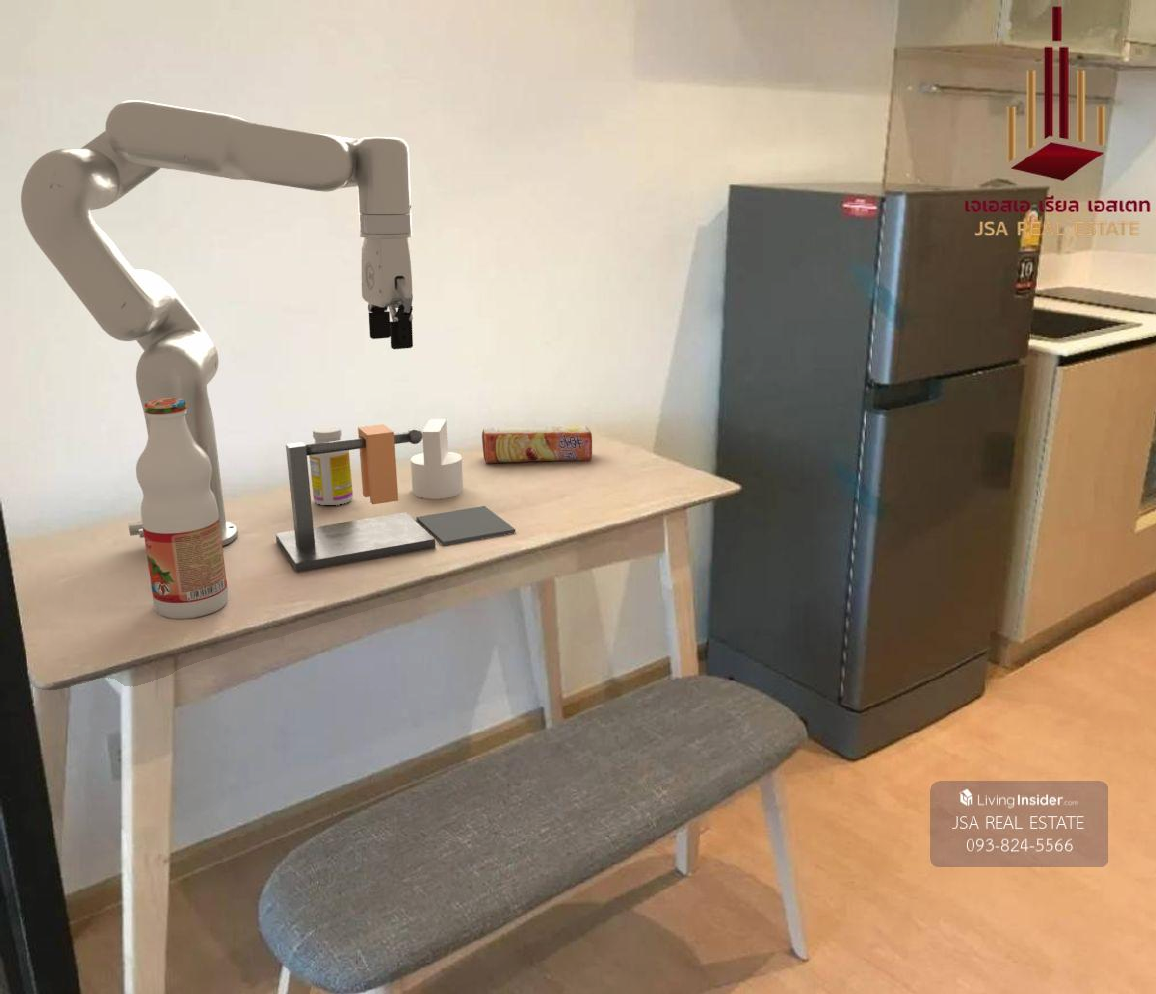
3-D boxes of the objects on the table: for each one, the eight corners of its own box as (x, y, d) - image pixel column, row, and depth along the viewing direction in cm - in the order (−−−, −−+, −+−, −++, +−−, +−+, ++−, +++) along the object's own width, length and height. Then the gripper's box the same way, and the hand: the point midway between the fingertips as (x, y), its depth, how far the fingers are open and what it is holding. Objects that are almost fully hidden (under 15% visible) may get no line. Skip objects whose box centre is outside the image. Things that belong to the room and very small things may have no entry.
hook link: (372, 504, 160) (367, 435, 156) (363, 494, 164) (357, 427, 161) (398, 500, 162) (393, 431, 158) (388, 491, 166) (383, 424, 163)
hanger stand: (296, 572, 153) (285, 458, 147) (276, 542, 165) (265, 435, 159) (442, 546, 162) (436, 438, 157) (413, 519, 174) (407, 417, 169)
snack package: (589, 453, 211) (589, 420, 209) (593, 463, 205) (593, 429, 203) (482, 457, 210) (481, 424, 207) (482, 466, 203) (481, 432, 201)
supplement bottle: (358, 495, 187) (352, 424, 183) (346, 507, 180) (340, 434, 176) (321, 494, 187) (314, 424, 183) (308, 506, 181) (301, 433, 177)
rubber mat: (443, 545, 163) (443, 541, 163) (416, 520, 174) (416, 516, 174) (515, 532, 168) (515, 529, 168) (484, 509, 179) (484, 505, 179)
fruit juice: (220, 618, 138) (194, 409, 129) (146, 622, 137) (114, 411, 129) (235, 590, 147) (211, 392, 138) (165, 593, 146) (137, 394, 137)
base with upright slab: (460, 498, 184) (456, 431, 181) (408, 498, 185) (404, 432, 181) (466, 482, 193) (463, 418, 189) (416, 483, 193) (413, 419, 189)
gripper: (342, 223, 160) (349, 336, 166) (380, 231, 146) (386, 354, 151) (390, 222, 164) (395, 332, 169) (431, 229, 149) (435, 350, 155)
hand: (390, 343), depth 160 cm, fingers open, 9 cm apart
